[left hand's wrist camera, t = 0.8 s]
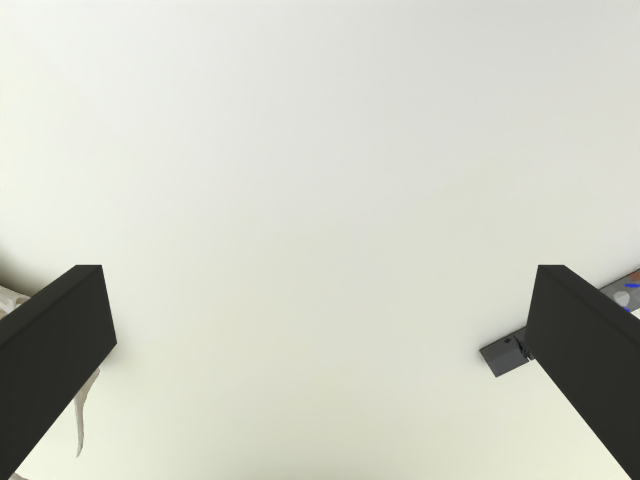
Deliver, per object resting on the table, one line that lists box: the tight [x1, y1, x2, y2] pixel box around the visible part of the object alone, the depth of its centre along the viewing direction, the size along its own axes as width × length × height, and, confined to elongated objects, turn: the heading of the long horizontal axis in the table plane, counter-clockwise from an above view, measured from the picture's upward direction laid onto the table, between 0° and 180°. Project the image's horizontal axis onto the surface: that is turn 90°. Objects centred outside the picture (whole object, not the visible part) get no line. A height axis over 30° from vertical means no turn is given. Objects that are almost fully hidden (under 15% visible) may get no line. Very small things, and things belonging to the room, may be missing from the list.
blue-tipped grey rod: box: [479, 270, 640, 377], centre depth 42 cm, size 2×2×20 cm
